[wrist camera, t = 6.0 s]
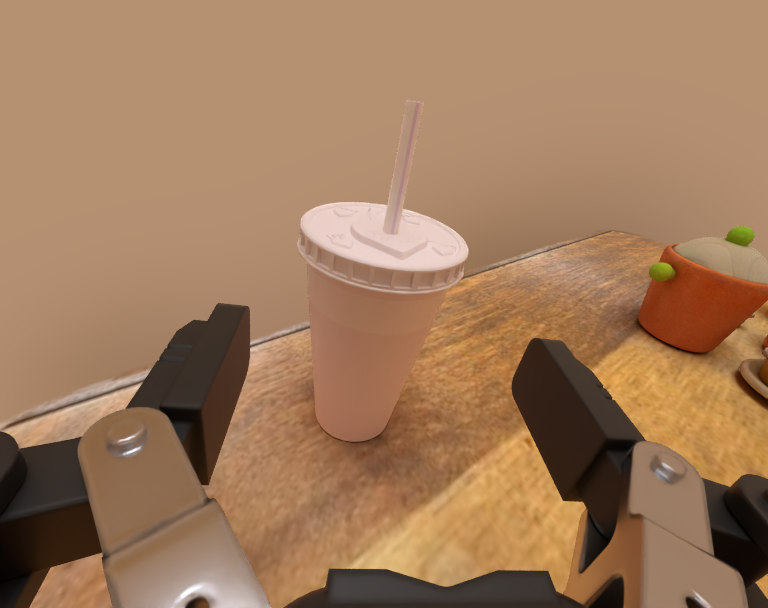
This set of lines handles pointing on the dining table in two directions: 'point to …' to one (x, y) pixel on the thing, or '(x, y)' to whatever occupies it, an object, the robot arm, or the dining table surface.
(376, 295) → the smoothie
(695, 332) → the toy tea set
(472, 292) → the dining table surface
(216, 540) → the robot arm
